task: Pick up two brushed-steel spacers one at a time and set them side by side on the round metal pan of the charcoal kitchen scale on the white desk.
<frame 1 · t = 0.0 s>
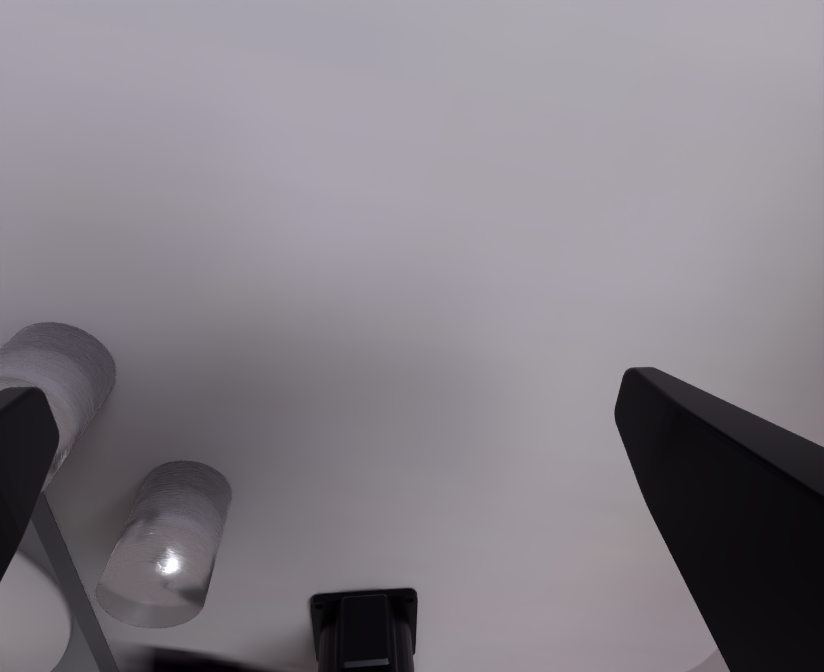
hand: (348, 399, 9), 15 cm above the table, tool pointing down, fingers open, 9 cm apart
spacer a: (188, 492, 29), on the table
spacer b: (63, 366, 24), on the table
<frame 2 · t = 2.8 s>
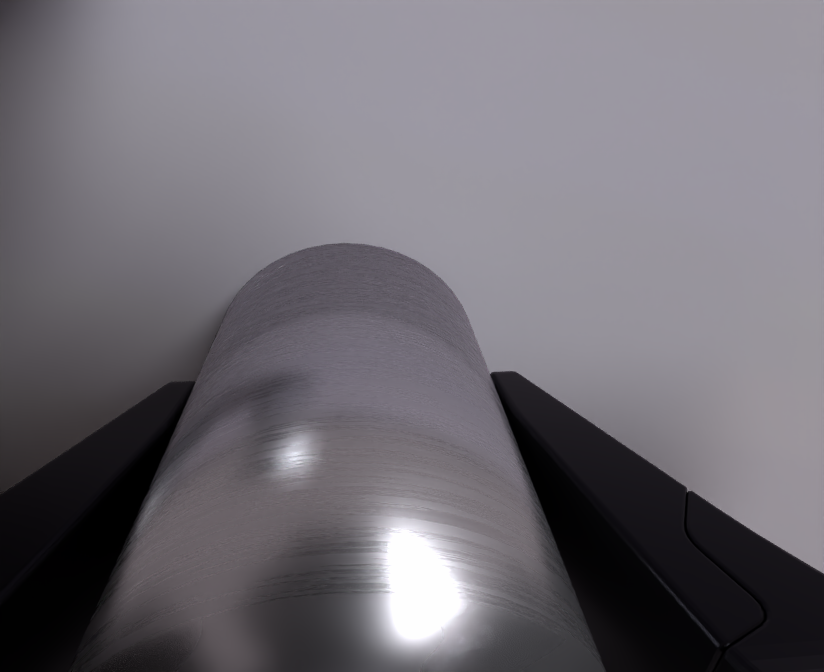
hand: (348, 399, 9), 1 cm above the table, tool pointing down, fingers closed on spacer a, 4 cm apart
spacer a: (349, 363, 10), on the table, touching gripper
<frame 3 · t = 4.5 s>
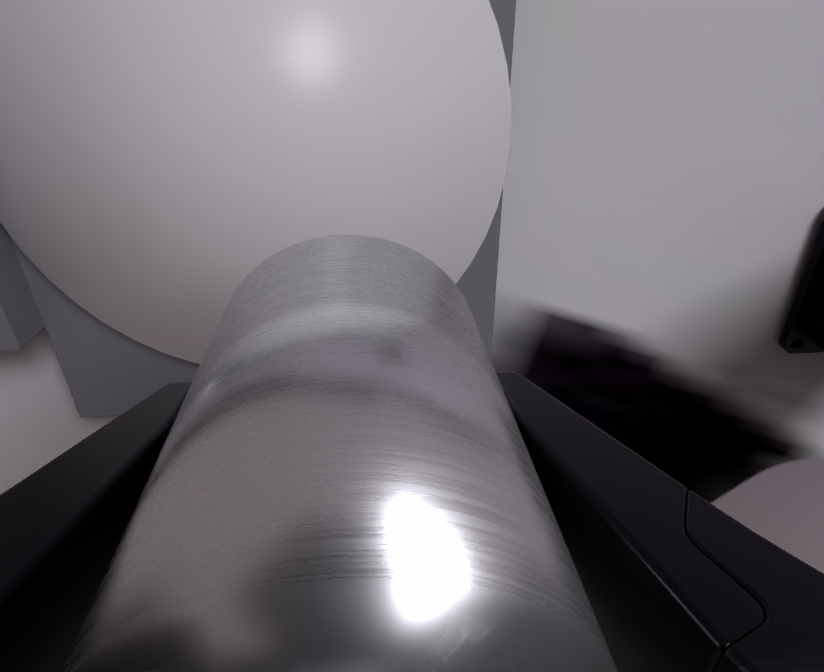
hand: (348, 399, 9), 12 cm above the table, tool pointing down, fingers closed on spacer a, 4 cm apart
scale: (256, 135, 18), on the table
spacer a: (350, 356, 9), point 11 cm above the table, touching gripper
when the fingers open (4 cm above the table, at t = 6.6 s): spacer a stays where it is, resting on scale.
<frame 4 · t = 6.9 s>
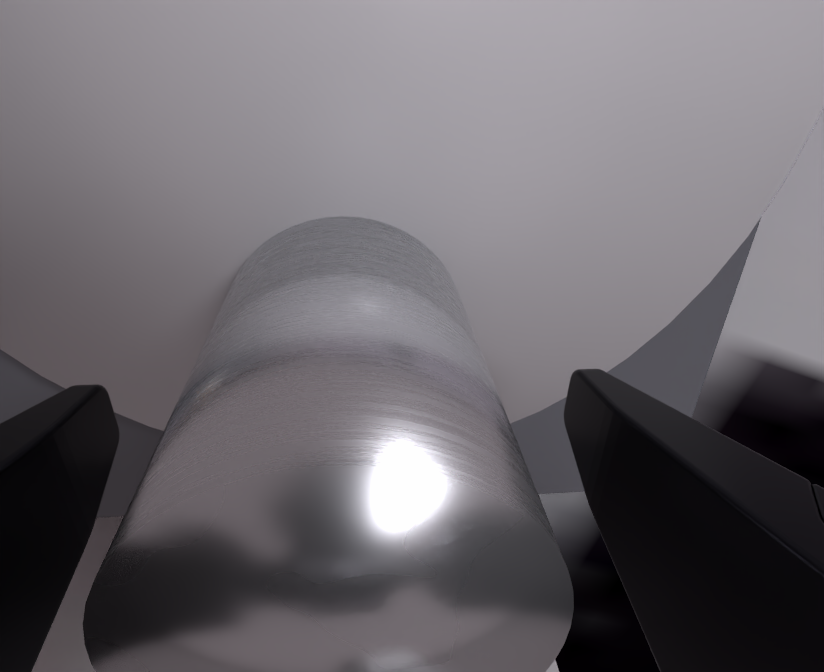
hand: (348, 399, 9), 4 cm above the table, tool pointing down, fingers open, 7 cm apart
scale: (339, 33, 10), on the table
spacer a: (346, 330, 10), point 2 cm above the table, touching scale
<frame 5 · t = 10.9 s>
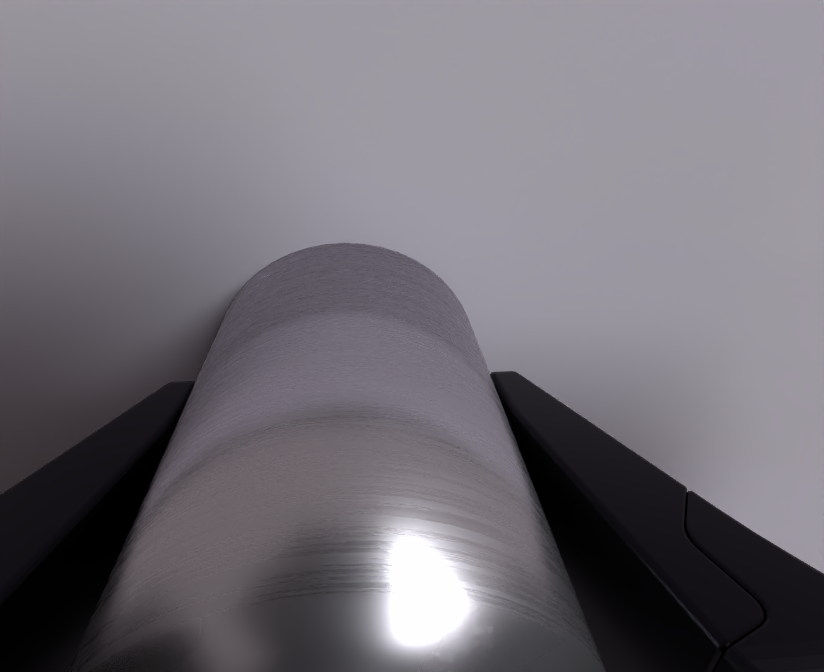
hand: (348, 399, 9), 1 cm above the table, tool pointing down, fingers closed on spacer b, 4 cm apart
spacer b: (349, 363, 10), on the table, touching gripper
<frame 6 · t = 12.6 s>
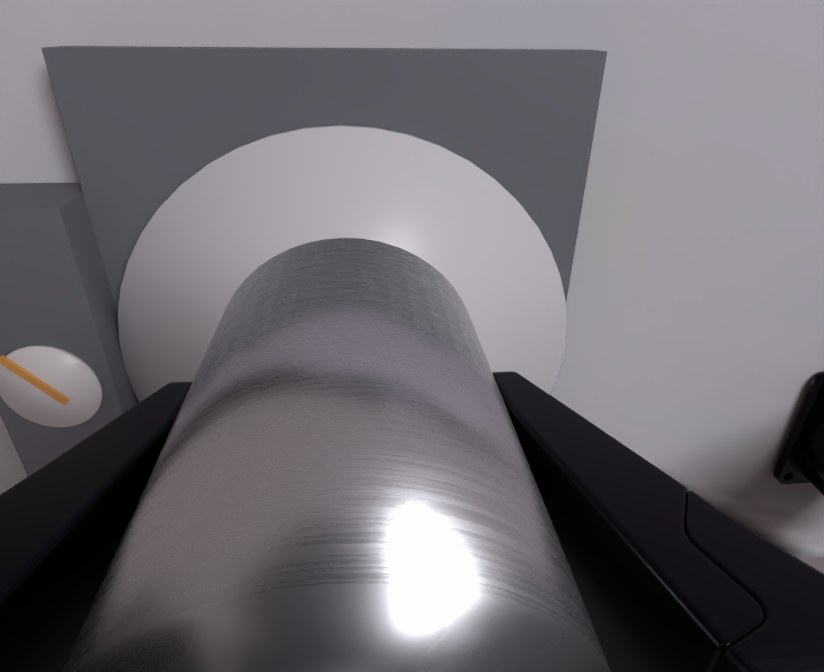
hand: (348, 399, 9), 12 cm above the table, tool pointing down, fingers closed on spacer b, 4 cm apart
scale: (352, 332, 22), on the table
spacer b: (349, 359, 9), point 11 cm above the table, touching gripper
when the fingers open (4 cm above the table, at t = 14.5 s): spacer b stays where it is, resting on scale.
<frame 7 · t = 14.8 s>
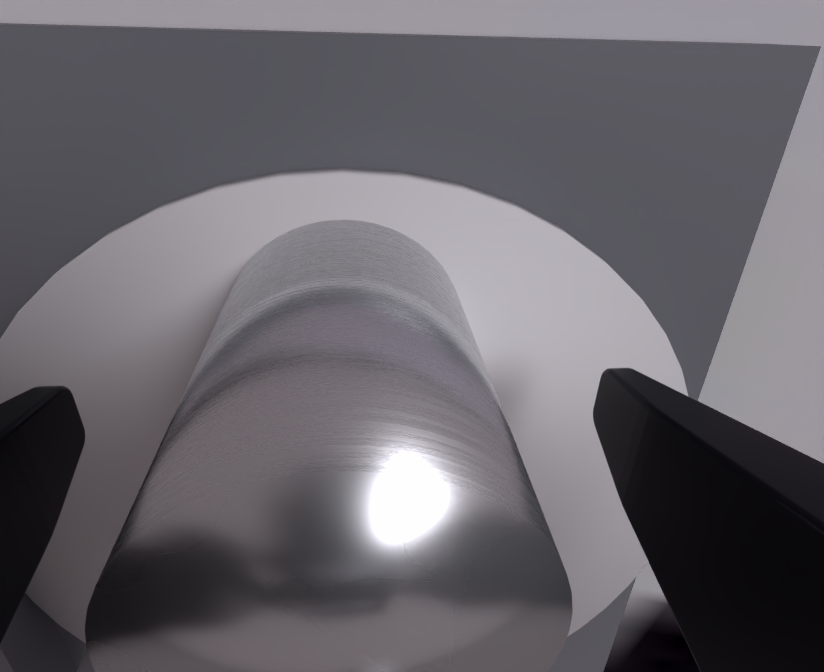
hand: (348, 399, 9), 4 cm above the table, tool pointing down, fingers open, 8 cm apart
scale: (354, 463, 15), on the table
spacer b: (346, 333, 10), point 2 cm above the table, touching scale
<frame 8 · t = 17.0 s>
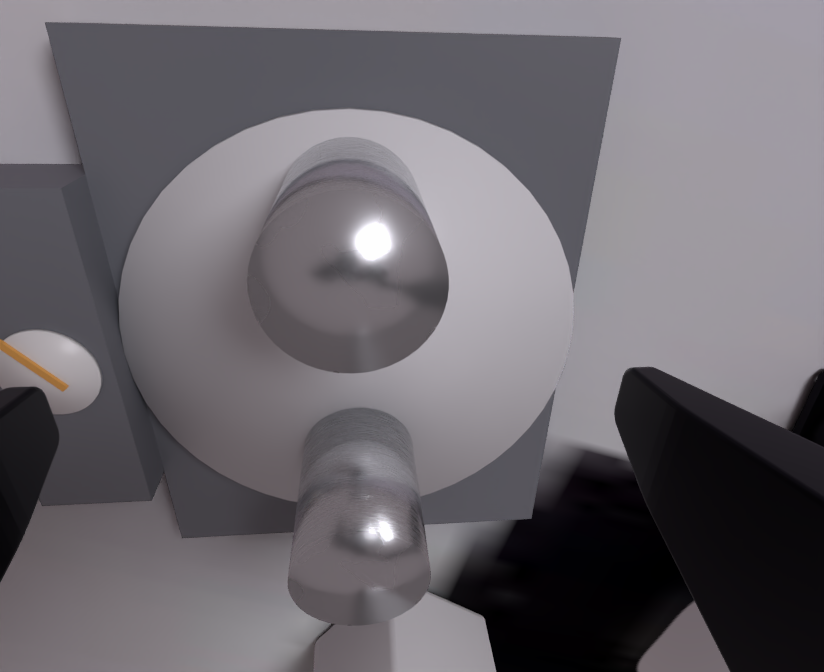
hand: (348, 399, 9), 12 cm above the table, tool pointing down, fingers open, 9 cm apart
medicine bottle: (399, 623, 32), on the table
scale: (355, 322, 21), on the table
spacer a: (358, 451, 22), point 2 cm above the table, touching scale
spacer b: (351, 209, 17), point 2 cm above the table, touching scale
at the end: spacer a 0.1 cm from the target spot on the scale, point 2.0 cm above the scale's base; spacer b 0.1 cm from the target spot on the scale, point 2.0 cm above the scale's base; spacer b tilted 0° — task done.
